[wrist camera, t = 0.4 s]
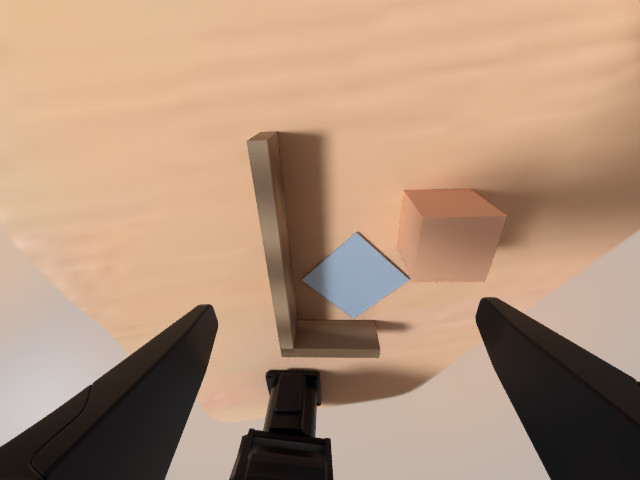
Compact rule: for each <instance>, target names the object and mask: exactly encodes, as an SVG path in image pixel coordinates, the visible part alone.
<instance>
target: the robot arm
mask: <svg viewBox="0 0 640 480" xmlns="http://www.w3.org/2000/svg"><path fill="white" fill-rule="evenodd" d="M476 324H477V326H478V329H479V332H480V334H481V337H482V339H483V342H484V344H485V347H486V349H487V352H488V355H489V357H490V360H491V362H492V365H493V367H494V369H495V371H496V373H497V375H498V377H499V379H500V381H501V383H502V385H503V387H504V389H505V391H506V393H507V395H508V397H509V399H510V401H511V403H512V404H513V407H514V408H515V411H516V412H517V414H518V416H519V418H520V420H521V422H522V424H523V426H524V428H525V430H526V432H527V434H528V436H529V438H530V440H531V442H532V444H533V446H534V448H535V450H536V451H537V453H538V455H539V457H540V459H541V461H542V463H543V465H544V467H545V469H546V471H547V473H548V475H549V477H550V479H551V480H640V382H637V381H636V380H635V379H634V378H633V377H631V376H629V375H627V374H626V373H624V372H622V371H621V370H619V369H617V368H616V367H614V366H612V365H610V364H609V363H607V362H605V361H603V360H602V359H600V358H598V357H597V356H595V355H593V354H592V353H590V352H588V351H587V350H585V349H583V348H582V347H580V346H578V345H576V344H575V343H573V342H571V341H570V340H568V339H566V338H564V337H563V336H561V335H559V334H558V333H556V332H554V331H553V330H551V329H549V328H547V327H546V326H544V325H542V324H540V323H539V322H537V321H536V320H534V319H532V318H530V317H529V316H527V315H525V314H524V313H522V312H520V311H519V310H517V309H515V308H513V307H512V306H510V305H508V304H507V303H505V302H503V301H501V300H500V299H498V298H495V297H484V298H482V299H481V300H480V303H479V306H478V310H477V313H476ZM217 329H218V320H217V317H216V315H215V312H214V309H213V306H212V305H210V304H204V305H198V306H197V307H195V308H194V309H192V310H191V311H190V312H188V313H187V314H186V315H184V316H183V317H182V318H180V319H179V320H178V321H176V322H175V323H173V324H172V325H171V326H169V327H168V328H167V329H165V330H164V331H163V332H161V333H160V334H159V335H157V336H156V337H154V338H153V339H152V340H150V341H149V342H148V343H146V344H145V345H144V346H142V347H141V348H140V349H138V350H137V351H135V352H134V353H133V354H131V355H130V356H129V357H127V358H126V359H125V360H123V361H122V362H121V363H119V364H118V365H117V366H115V367H114V368H112V369H111V370H110V371H108V372H107V373H106V374H104V375H103V376H102V377H100V378H99V379H98V380H96V381H95V382H94V383H93V384H92V385H89V386H88V387H86V388H85V389H84V390H83V391H81V392H80V393H78V394H77V395H76V396H74V397H73V398H71V399H70V400H69V401H67V402H66V403H64V404H63V405H62V406H60V407H59V408H58V409H56V410H55V411H53V412H52V413H50V414H49V415H47V416H46V417H44V418H43V419H42V420H40V421H39V422H37V423H36V424H34V425H33V426H31V427H30V428H28V429H27V430H25V431H24V432H23V433H21V434H19V435H18V436H16V437H15V438H13V439H12V440H10V441H9V442H7V443H6V444H4V445H3V446H1V447H0V480H165V477H166V474H167V472H168V469H169V467H170V464H171V461H172V458H173V456H174V453H175V451H176V448H177V446H178V443H179V441H180V438H181V435H182V433H183V430H184V428H185V425H186V422H187V420H188V417H189V415H190V412H191V409H192V407H193V404H194V402H195V399H196V396H197V394H198V391H199V389H200V386H201V383H202V381H203V378H204V375H205V373H206V370H207V366H208V363H209V359H210V355H211V352H212V348H213V344H214V340H215V337H216V333H217ZM266 381H267V386H268V390H269V395H270V399H269V404H268V409H267V414H266V419H265V424H264V429H263V431H259V430H255V429H252V428H251V429H249V433H248V434H247V435H245V436H243V437H242V440H241V444H240V448H239V452H238V455H237V458H236V461H235V464H234V467H233V470H232V473H231V476H230V479H229V480H333V469H332V454H331V440H330V438H325V439H322V438H315V431H316V409H317V406H320V405H321V385H320V374H319V373H318V372H283V371H268V372H267V373H266Z"/></svg>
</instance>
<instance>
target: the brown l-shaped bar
mask: <svg viewBox="0 0 640 480" xmlns="http://www.w3.org/2000/svg"><path fill="white" fill-rule="evenodd" d="M247 146H248V152H249V159H250V165H251V171H252V177H253V183H254V189H255V195H256V202H257V208H258V214H259V220H260V226H261V232H262V238H263V245H264V251H265V257H266V263H267V269H268V275H269V281H270V288H271V294H272V300H273V306H274V312H275V318H276V324H277V330H278V337H279V343H280V349H281V355H282V357H337V358H379V355H380V346H379V341H378V335H377V330H376V325H375V320H297V312H296V302H295V293H294V284H293V274H292V265H291V256H290V246H289V237H288V228H287V218H286V209H285V200H284V190H283V181H282V172H281V162H280V153H279V144H278V134H277V132H260V133H258V134H257V135H255V136H254V137H252V138H251V139H249V140H247Z"/></svg>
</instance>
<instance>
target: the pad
mask: <svg viewBox="0 0 640 480" xmlns="http://www.w3.org/2000/svg"><path fill="white" fill-rule="evenodd" d="M408 280H409V278H408V277H406V276H405V275H404V274H403V273H402V272H401V271H400V270H399V269H397V268H396V267H395V266H394V265H393V264H392V263H391V262H390V261H389V260H387V259H386V258H385V257H384V256H383V255H382V254H381V253H380V252H378V251H377V250H376V249H375V248H374V247H373V246H372V245H371V244H370V243H368V242H367V241H366V240H365V239H364V238H363V237H362V236H361V235H359V234H358V233H357V232H356V233H355V234H354V235H352V236H351V237H350V238H349V239H348V240H347V241H345V242H344V243H343V244H342V245H341V246H340V247H338V248H337V249H336V250H335V251H334V252H333V253H332V254H330V255H329V256H328V257H327V258H326V259H325V260H323V261H322V262H321V263H320V264H319V265H318V266H316V267H315V268H314V269H313V270H312V271H311V272H310V273H308V274H307V275H306V276H305V277H304V278H303V279H302V281H303V282H305V283H306V284H307V285H309V286H310V287H311V288H313V289H314V290H315V291H317V292H318V293H320V294H321V295H322V296H324V297H325V298H326V299H328V300H329V301H330V302H332V303H333V304H334V305H336V306H337V307H338V308H340V309H341V310H342V311H344V312H345V313H347V314H348V315H349V316H351V317H352V318H353V319H354V318H355V317H357V316H358V315H359V314H361V313H362V312H364V311H365V310H367V309H368V308H370V307H371V306H372V305H374V304H375V303H377V302H378V301H380V300H381V299H382V298H384V297H385V296H387V295H388V294H390V293H391V292H393V291H394V290H395V289H397V288H398V287H400V286H401V285H403V284H404V283H405V282H407V281H408Z"/></svg>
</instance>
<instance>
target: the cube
mask: <svg viewBox="0 0 640 480" xmlns="http://www.w3.org/2000/svg"><path fill="white" fill-rule="evenodd" d="M506 219H507V215H506V214H504V213H503V212H501V211H500V210H499V209H497V208H496V207H495V206H493V205H492V204H490V203H489V202H488V201H486V200H485V199H484V198H482V197H481V196H479V195H478V194H477V193H475V192H474V191H473V190H471V189H442V190H404V192H403V200H402V208H401V216H400V224H399V232H398V240H397V248H398V250H399V253H400V255H401V257H402V260H403V262H404V265H405V267H406V270H407V272H408V274H409V277H410V279H411V282H485V280H486V277H487V274H488V271H489V268H490V266H491V263H492V260H493V257H494V254H495V251H496V248H497V245H498V242H499V239H500V236H501V233H502V231H503V228H504V225H505V222H506Z"/></svg>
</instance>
